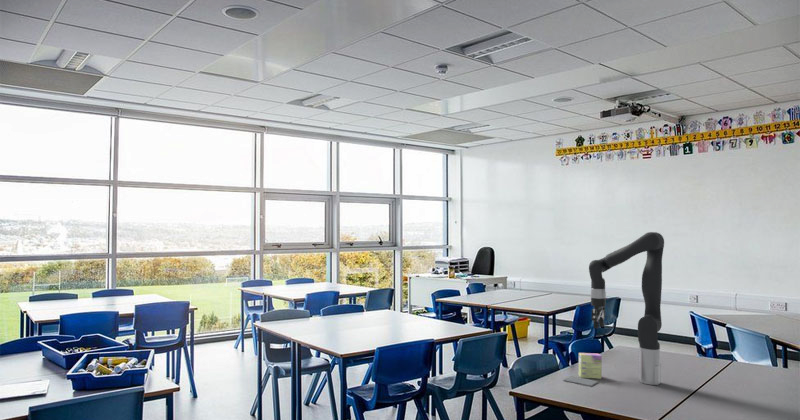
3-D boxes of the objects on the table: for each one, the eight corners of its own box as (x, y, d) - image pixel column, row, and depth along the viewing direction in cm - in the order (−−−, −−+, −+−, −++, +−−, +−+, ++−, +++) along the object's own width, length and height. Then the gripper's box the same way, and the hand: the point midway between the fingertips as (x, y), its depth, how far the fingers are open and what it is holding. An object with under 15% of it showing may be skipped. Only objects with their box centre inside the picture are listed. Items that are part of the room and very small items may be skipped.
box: (598, 376, 278) (598, 353, 279) (601, 379, 272) (601, 355, 273) (578, 375, 279) (578, 352, 280) (580, 378, 274) (580, 354, 274)
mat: (598, 382, 266) (598, 381, 266) (591, 386, 258) (591, 385, 258) (571, 377, 275) (571, 375, 275) (563, 381, 267) (563, 379, 267)
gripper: (600, 298, 280) (601, 330, 279) (609, 296, 291) (610, 326, 290) (586, 297, 284) (586, 328, 284) (596, 295, 295) (596, 325, 295)
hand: (598, 327), depth 287 cm, fingers open, 8 cm apart
